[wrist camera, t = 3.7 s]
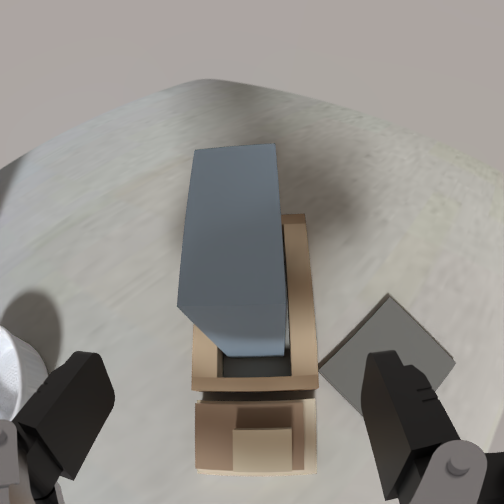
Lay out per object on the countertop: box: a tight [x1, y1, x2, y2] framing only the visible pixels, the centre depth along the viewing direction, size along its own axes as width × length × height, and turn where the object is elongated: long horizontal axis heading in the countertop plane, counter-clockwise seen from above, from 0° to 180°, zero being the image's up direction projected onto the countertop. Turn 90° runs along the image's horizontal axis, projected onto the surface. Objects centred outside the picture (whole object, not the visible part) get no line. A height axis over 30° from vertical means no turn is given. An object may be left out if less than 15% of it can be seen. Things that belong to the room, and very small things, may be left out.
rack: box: [192, 214, 319, 476], centre depth 18 cm, size 17×7×4 cm, turn 1°
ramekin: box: [0, 325, 48, 421], centre depth 17 cm, size 9×9×4 cm
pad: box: [318, 297, 456, 416], centre depth 18 cm, size 7×7×1 cm
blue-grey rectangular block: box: [177, 143, 286, 358], centre depth 16 cm, size 7×4×11 cm, turn 1°
